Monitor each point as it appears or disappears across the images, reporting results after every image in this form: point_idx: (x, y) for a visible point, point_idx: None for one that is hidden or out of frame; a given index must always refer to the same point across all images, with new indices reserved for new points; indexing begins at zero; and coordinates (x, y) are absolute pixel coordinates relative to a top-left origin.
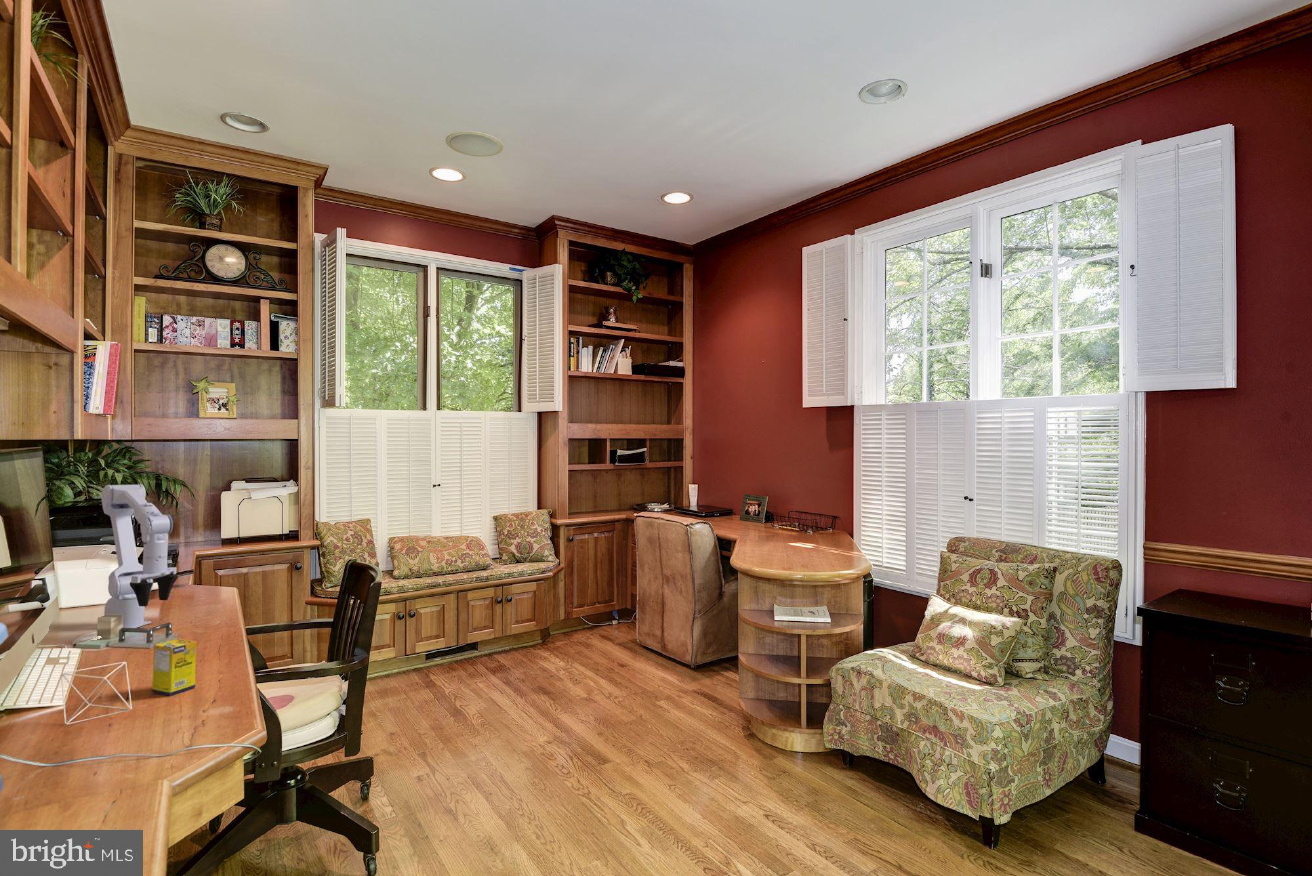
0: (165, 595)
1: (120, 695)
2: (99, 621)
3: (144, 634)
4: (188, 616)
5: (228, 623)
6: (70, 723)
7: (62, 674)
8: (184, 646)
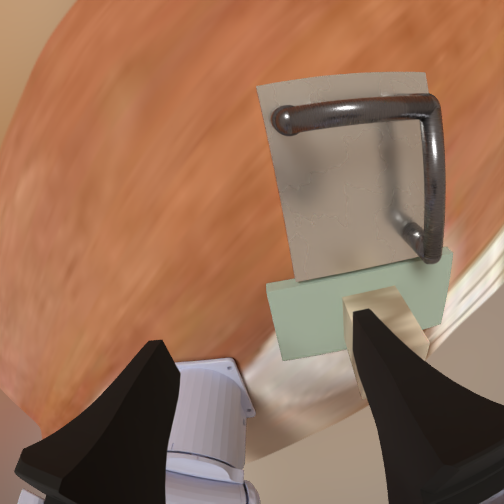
0: (154, 373)
1: None
2: None
3: (316, 228)
4: (53, 330)
5: (17, 132)
6: None
7: None
8: None
